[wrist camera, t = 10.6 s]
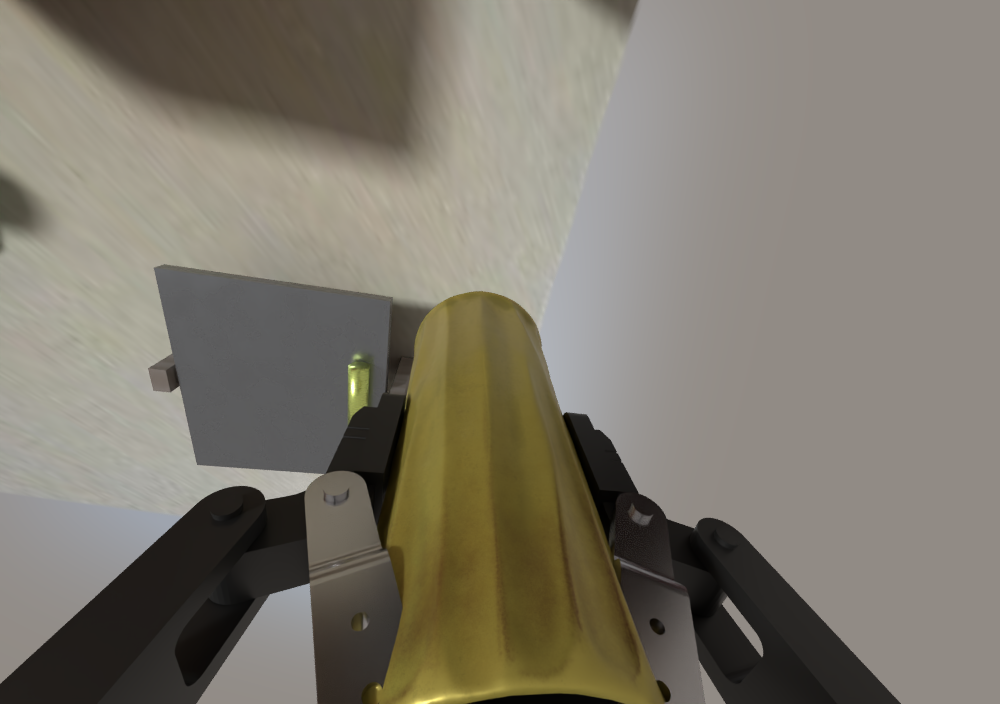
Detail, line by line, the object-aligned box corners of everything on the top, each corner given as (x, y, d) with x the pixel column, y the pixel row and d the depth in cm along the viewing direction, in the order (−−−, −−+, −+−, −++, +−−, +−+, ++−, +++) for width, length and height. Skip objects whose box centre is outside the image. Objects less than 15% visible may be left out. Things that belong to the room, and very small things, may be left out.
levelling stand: (195, 270, 32) (129, 293, 26) (419, 302, 35) (409, 330, 29) (217, 404, 38) (168, 450, 32) (407, 422, 41) (397, 467, 35)
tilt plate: (164, 264, 27) (135, 273, 24) (392, 297, 29) (386, 308, 27) (204, 457, 34) (185, 478, 32) (382, 470, 37) (376, 490, 34)
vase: (389, 327, 17) (171, 775, 5) (505, 265, 16) (641, 598, 4) (456, 420, 20) (436, 868, 7) (559, 370, 19) (748, 778, 6)
